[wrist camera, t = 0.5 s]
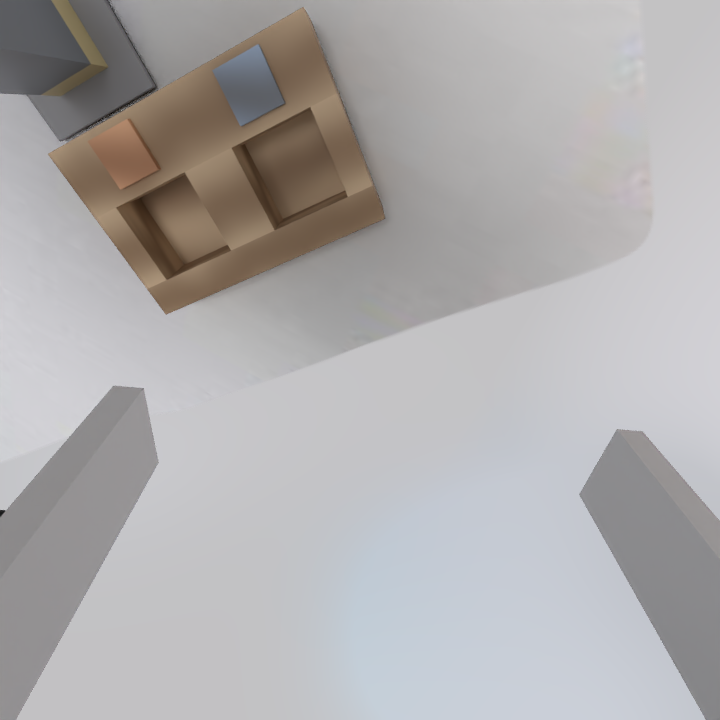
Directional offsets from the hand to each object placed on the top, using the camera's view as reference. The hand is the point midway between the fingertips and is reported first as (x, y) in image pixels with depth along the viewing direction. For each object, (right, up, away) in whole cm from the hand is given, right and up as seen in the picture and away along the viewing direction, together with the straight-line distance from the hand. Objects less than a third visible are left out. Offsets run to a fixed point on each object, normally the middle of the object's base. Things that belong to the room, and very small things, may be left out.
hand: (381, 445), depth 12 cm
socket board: (-10, +16, +18) cm, 26 cm away
